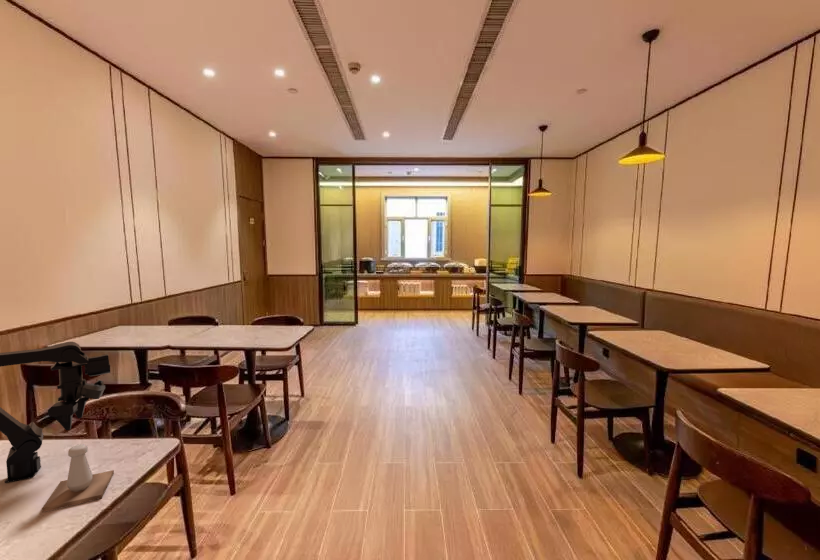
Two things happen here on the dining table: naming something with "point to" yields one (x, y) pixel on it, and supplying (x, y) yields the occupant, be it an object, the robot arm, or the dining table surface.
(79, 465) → the salt shaker
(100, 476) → the walnut board
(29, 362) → the robot arm
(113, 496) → the dining table surface
